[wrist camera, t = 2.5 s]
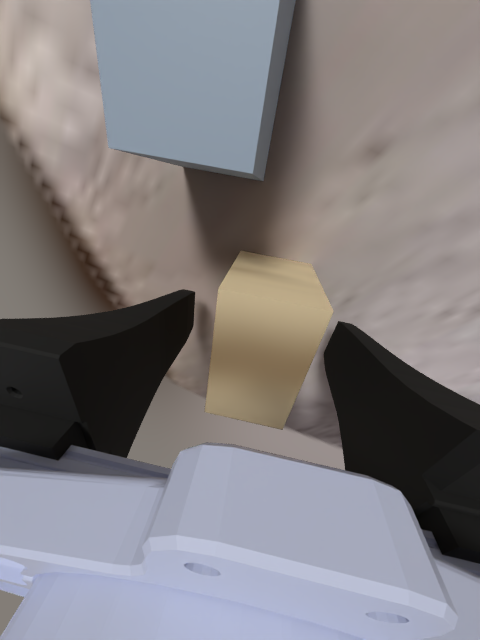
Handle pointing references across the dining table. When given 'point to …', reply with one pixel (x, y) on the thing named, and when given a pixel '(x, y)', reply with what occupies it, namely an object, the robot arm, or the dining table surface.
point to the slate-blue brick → (193, 79)
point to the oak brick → (264, 338)
